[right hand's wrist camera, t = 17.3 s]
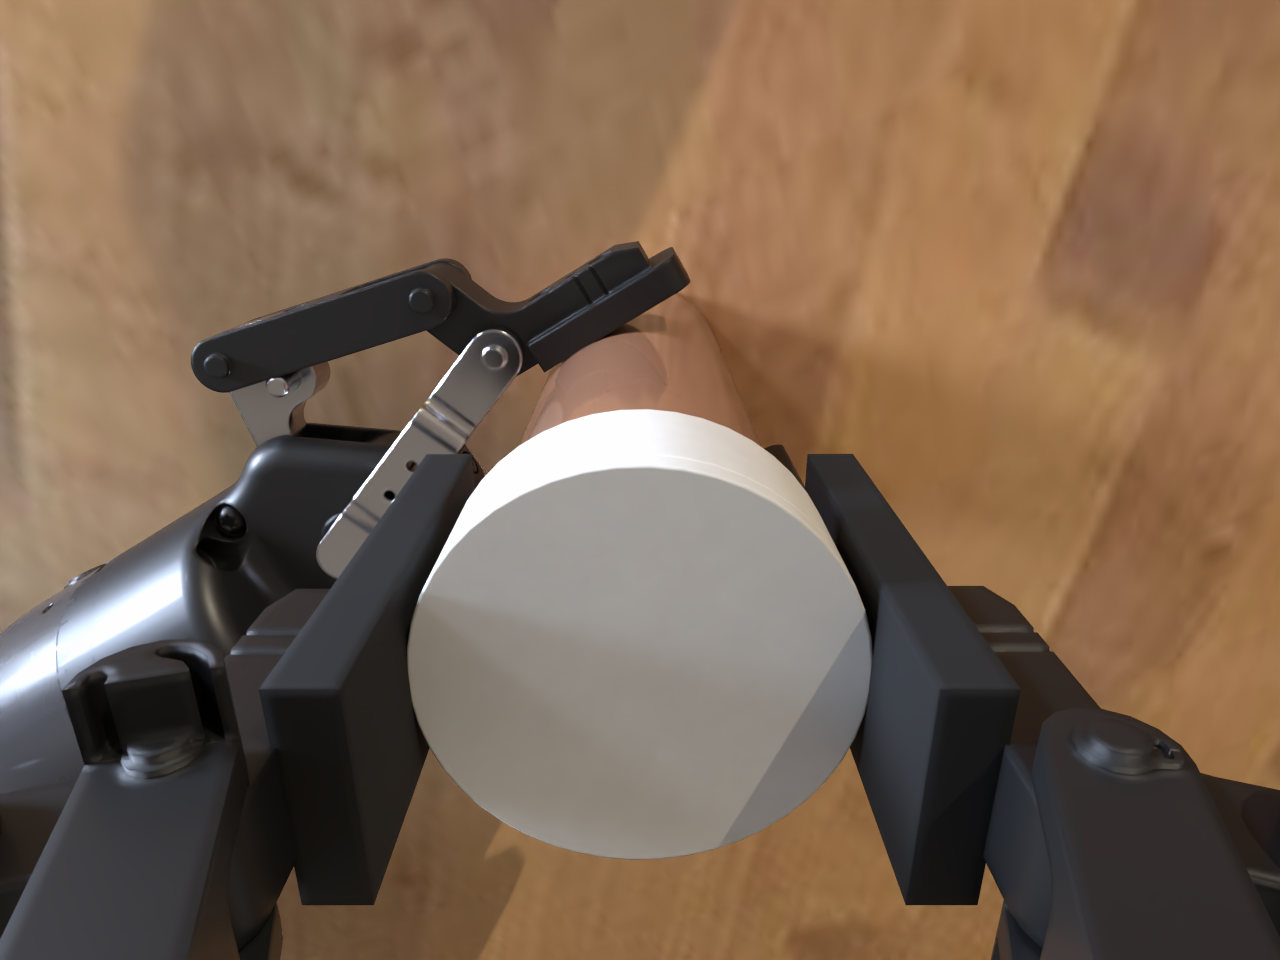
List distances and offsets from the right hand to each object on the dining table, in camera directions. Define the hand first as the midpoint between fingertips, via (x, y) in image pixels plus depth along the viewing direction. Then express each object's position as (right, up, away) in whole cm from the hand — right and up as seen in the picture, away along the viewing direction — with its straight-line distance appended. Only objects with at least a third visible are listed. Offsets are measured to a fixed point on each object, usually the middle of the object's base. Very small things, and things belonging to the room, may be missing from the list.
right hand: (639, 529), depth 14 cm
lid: (0, -1, -4) cm, 4 cm away
